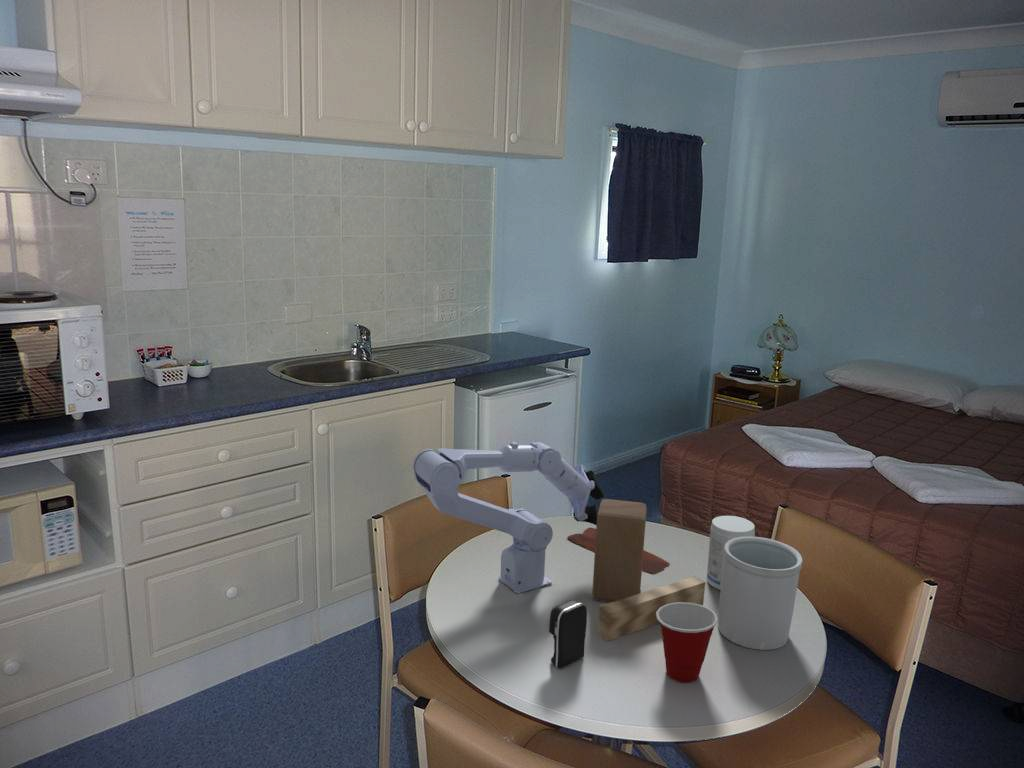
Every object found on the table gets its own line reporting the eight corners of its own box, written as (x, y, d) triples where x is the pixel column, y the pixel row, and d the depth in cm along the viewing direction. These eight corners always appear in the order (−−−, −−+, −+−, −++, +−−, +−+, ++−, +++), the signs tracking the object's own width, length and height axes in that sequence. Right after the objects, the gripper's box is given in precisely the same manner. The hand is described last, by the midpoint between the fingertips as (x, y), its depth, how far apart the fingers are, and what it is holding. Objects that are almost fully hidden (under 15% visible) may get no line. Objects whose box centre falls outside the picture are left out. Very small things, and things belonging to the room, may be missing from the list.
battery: (571, 648, 151) (574, 594, 148) (585, 657, 148) (588, 602, 145) (544, 661, 146) (547, 605, 143) (558, 671, 143) (561, 614, 141)
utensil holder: (799, 626, 161) (809, 547, 157) (783, 661, 149) (794, 576, 145) (727, 606, 169) (735, 530, 164) (706, 637, 156) (714, 556, 152)
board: (607, 641, 154) (609, 613, 152) (597, 633, 156) (599, 606, 155) (702, 607, 167) (705, 581, 166) (692, 601, 170) (695, 576, 168)
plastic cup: (669, 649, 151) (674, 592, 149) (721, 672, 145) (728, 613, 142) (640, 673, 143) (644, 614, 141) (693, 699, 137) (700, 637, 134)
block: (638, 607, 167) (645, 519, 162) (591, 601, 169) (596, 513, 164) (640, 585, 176) (647, 501, 172) (596, 579, 178) (601, 496, 174)
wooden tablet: (564, 541, 199) (564, 535, 198) (589, 530, 206) (590, 524, 205) (650, 579, 180) (651, 572, 180) (675, 566, 187) (676, 559, 187)
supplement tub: (750, 578, 181) (757, 519, 178) (748, 597, 172) (755, 535, 169) (707, 570, 184) (713, 512, 181) (703, 589, 176) (709, 527, 172)
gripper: (582, 498, 168) (617, 529, 176) (580, 448, 179) (614, 479, 186) (555, 510, 172) (591, 540, 179) (555, 460, 182) (589, 490, 189)
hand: (601, 510), depth 183 cm, fingers open, 7 cm apart
